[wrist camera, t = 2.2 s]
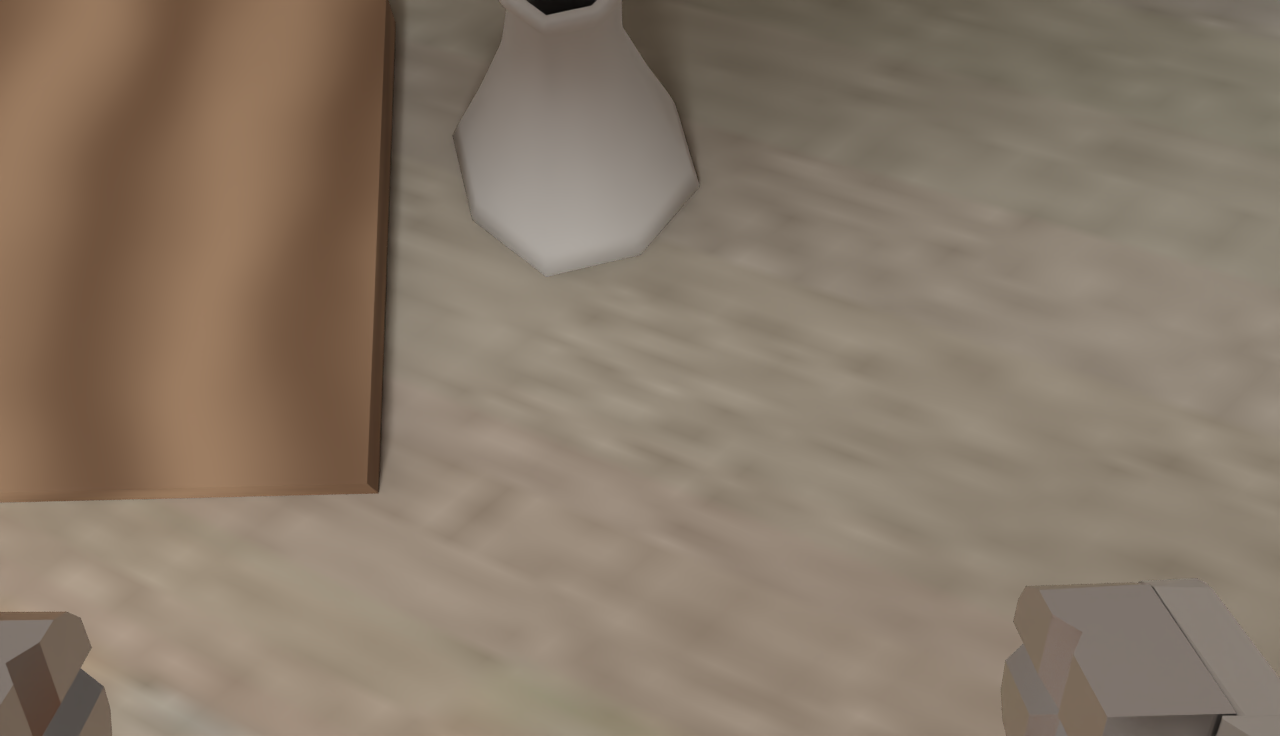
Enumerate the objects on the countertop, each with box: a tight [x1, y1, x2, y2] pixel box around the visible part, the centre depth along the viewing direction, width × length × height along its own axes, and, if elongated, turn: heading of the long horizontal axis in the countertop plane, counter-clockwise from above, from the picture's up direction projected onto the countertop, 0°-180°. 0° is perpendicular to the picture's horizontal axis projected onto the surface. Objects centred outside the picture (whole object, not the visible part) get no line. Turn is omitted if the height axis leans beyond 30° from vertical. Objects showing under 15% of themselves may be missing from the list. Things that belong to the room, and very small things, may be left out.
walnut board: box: [0, 0, 396, 502], centre depth 33 cm, size 14×15×2 cm
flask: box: [453, 0, 700, 277], centre depth 30 cm, size 7×7×10 cm
